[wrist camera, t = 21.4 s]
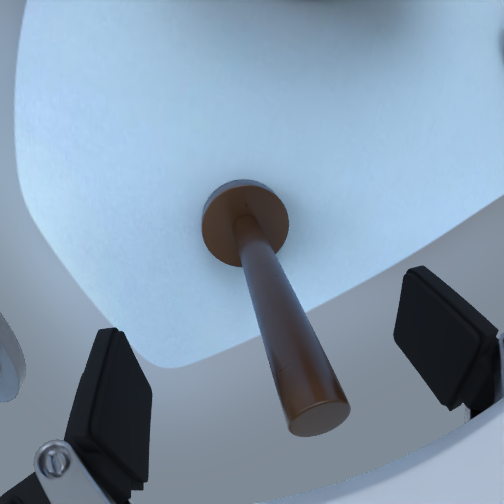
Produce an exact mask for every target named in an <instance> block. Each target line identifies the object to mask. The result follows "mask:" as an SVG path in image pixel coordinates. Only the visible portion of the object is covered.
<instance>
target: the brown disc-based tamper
mask: <svg viewBox="0 0 504 504" xmlns="http://www.w3.org/2000/svg"><path fill="white" fill-rule="evenodd" d="M288 228H289V219H288V214H287V211H286V208H285V206H284V204H283V203H282V201H281V200H280V199H279V198H278V197H277V195H276V194H275V193H274V192H273V191H272V190H271V189H270V188H268V187H267V186H265V185H264V184H262V183H259V182H257V181H253V180H235V181H231V182H229V183H226V184H224V185H222V186H221V187H219V188H218V189H216V190H215V191H214V192H213V193H212V194H211V196H210V197H209V198H208V200H207V202H206V204H205V206H204V209H203V212H202V236H203V239H204V242H205V244H206V246H207V248H208V250H209V251H210V252H211V253H212V255H214V256H215V257H216V258H217V259H219V260H220V261H222V262H224V263H226V264H228V265H231V266H236V267H243V271H244V274H245V278H246V282H247V285H248V289H249V293H250V296H251V300H252V303H253V307H254V311H255V314H256V318H257V321H258V325H259V329H260V332H261V336H262V339H263V343H264V346H265V350H266V353H267V357H268V360H269V364H270V368H271V371H272V375H273V378H274V381H275V385H276V389H277V392H278V396H279V399H280V402H281V406H282V409H283V413H284V416H285V420H286V423H287V427H288V430H289V431H290V432H291V433H292V434H293V435H295V436H299V437H311V436H317V435H320V434H323V433H326V432H328V431H331V430H333V429H334V428H336V427H337V426H339V425H340V424H342V423H343V422H344V421H345V420H346V419H347V417H348V416H349V414H350V410H351V406H350V404H349V402H348V400H347V398H346V395H345V393H344V391H343V389H342V387H341V385H340V383H339V381H338V379H337V377H336V375H335V373H334V371H333V369H332V367H331V365H330V362H329V360H328V358H327V356H326V355H325V352H324V350H323V348H322V346H321V344H320V342H319V340H318V338H317V336H316V334H315V332H314V331H313V328H312V326H311V324H310V322H309V320H308V318H307V316H306V314H305V312H304V310H303V308H302V306H301V304H300V302H299V300H298V298H297V296H296V294H295V292H294V290H293V288H292V286H291V284H290V282H289V280H288V278H287V277H286V275H285V273H284V271H283V269H282V267H281V265H280V263H279V261H278V259H277V257H276V255H275V254H276V253H277V252H278V251H279V250H280V248H281V247H282V246H283V244H284V242H285V240H286V237H287V234H288Z"/></svg>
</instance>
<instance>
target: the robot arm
mask: <svg viewBox="0 0 504 504" xmlns="http://www.w3.org/2000/svg"><path fill="white" fill-rule="evenodd" d="M497 333H498V329H497V328H496V327H495V326H494V325H492V324H491V323H490V322H489V321H488V320H487V319H486V318H485V317H484V316H483V315H481V313H479V312H478V311H477V310H476V309H475V308H474V307H473V306H472V305H470V304H469V303H468V302H467V301H466V300H465V299H464V298H462V297H461V296H460V295H459V294H458V293H457V292H455V291H454V290H453V289H452V288H451V287H449V286H448V285H447V284H446V283H445V282H443V281H442V280H441V279H440V278H439V277H437V276H436V275H435V274H434V273H432V272H431V271H430V270H429V269H427V268H426V267H425V266H418V267H414V268H411V269H408V271H407V272H406V274H405V275H404V277H403V283H402V289H401V295H400V302H399V308H398V313H397V318H396V323H395V328H394V334H393V335H394V340H395V342H396V344H397V345H398V346H399V348H400V349H401V350H402V351H403V353H404V354H405V355H406V357H407V358H408V359H409V360H410V362H411V363H412V365H413V366H414V367H415V369H416V370H417V371H418V372H419V374H420V375H421V377H422V378H423V379H424V381H425V382H426V383H427V385H428V386H429V388H430V389H431V390H432V392H433V393H434V395H435V396H436V397H437V399H438V400H439V402H440V403H441V404H442V405H445V406H447V408H448V409H449V411H452V410H453V409H455V408H457V407H458V406H460V405H461V404H462V403H464V404H465V405H466V409H465V420H464V424H463V425H462V426H460V427H458V428H457V429H455V430H453V431H452V432H450V433H448V434H446V435H445V436H443V437H441V438H439V439H438V440H436V441H434V442H432V443H430V444H428V445H426V446H424V447H422V448H420V449H419V450H416V451H414V452H412V453H410V454H408V455H406V456H404V457H402V458H400V459H398V460H395V461H393V462H391V463H389V464H386V465H384V466H382V467H379V468H377V469H374V470H372V471H369V472H366V473H364V474H361V475H359V476H356V477H353V478H350V479H347V480H344V481H341V482H339V483H335V484H332V485H329V486H326V487H322V488H319V489H315V490H312V491H308V492H304V493H300V494H297V495H292V496H288V497H284V498H280V499H274V500H269V501H264V502H259V503H253V504H504V333H503V334H501V336H500V338H499V340H498V339H497V338H496V335H497ZM151 407H152V390H151V387H150V385H149V383H148V381H147V379H146V377H145V375H144V373H143V371H142V370H141V367H140V365H139V363H138V361H137V359H136V357H135V355H134V353H133V351H132V349H131V347H130V345H129V342H128V340H127V338H126V336H125V334H124V332H123V331H119V330H118V329H117V328H115V327H114V328H106V329H100V330H99V331H98V333H97V335H96V338H95V341H94V343H93V346H92V349H91V352H90V355H89V358H88V361H87V364H86V368H85V370H84V373H83V374H82V376H81V379H80V382H79V386H78V389H77V392H76V395H75V399H74V403H73V406H72V410H71V413H70V417H69V421H68V425H67V429H66V433H65V437H64V441H63V440H51V441H48V442H46V443H44V444H43V445H42V446H41V447H40V448H39V449H38V450H37V452H36V454H35V457H34V469H35V472H34V473H33V474H31V475H30V476H28V477H27V478H25V479H24V480H23V481H21V482H20V483H18V484H17V485H16V486H14V487H13V488H11V489H10V490H9V491H7V492H6V493H5V494H3V495H2V496H1V497H0V504H134V503H133V502H132V501H131V500H130V498H131V490H143V483H144V482H147V481H148V470H149V469H148V468H149V441H150V422H151Z"/></svg>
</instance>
